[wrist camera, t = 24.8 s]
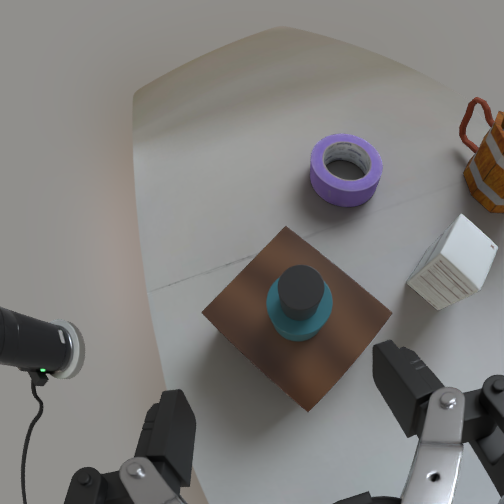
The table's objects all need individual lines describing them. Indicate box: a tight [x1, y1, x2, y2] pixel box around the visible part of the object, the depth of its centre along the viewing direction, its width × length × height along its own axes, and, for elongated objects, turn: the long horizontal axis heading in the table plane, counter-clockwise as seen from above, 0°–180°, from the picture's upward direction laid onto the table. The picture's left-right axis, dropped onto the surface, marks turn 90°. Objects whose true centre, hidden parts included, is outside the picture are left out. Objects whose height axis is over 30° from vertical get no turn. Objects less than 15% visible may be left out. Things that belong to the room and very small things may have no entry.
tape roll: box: [310, 134, 383, 207], centre depth 45 cm, size 12×12×5 cm
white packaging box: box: [406, 214, 498, 311], centre depth 33 cm, size 7×7×13 cm
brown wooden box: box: [201, 226, 392, 412], centre depth 35 cm, size 14×16×10 cm
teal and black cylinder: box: [266, 265, 333, 341], centre depth 25 cm, size 6×6×12 cm
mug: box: [459, 97, 504, 213], centre depth 38 cm, size 20×14×15 cm
